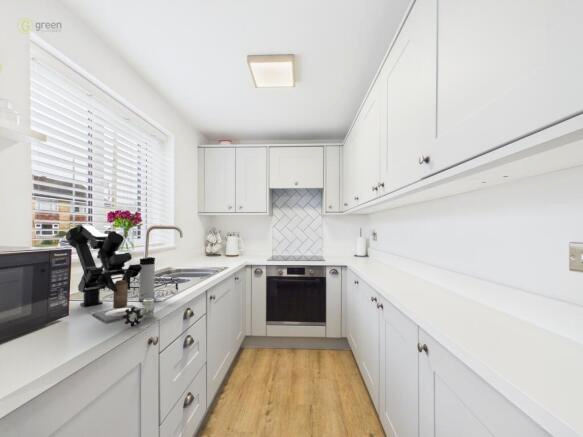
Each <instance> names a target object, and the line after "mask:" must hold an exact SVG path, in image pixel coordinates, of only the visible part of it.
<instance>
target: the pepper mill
mask: <svg viewBox="0 0 583 437" xmlns="http://www.w3.org/2000/svg"><path fill="white" fill-rule="evenodd" d="M114 284H115V287H116V290H117V291H116V292H114V291H113V299H112V301H113V302H112V309H115V308H116V309H117V308H124V307H127V306H128V283H127V282H126V280H122V279H120V280H116V282H115V283H114Z"/></svg>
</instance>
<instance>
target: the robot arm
mask: <svg viewBox="0 0 583 437" xmlns="http://www.w3.org/2000/svg"><path fill="white" fill-rule="evenodd" d="M124 240H125V237H124V236H123V235H122V234H120V233H117V232H116V230H110V231H109V232H108V234H107V233H102V232H100V231H99V230H98V229H96V228H95V227H93V224H89V223H80V224H78V225H77V226H75V227H72V228H71V229H69V230H68V231H67V233H66V234H65V241H67V242H68V245H69V246H71V247H72V248H74V249H75V252H76V254H77V256H78V259H79V260H78V261H79V263H80V266H81V268H82V271H83V274H82V276H81V279H80V282H79V284H78V285H77V288H78V292H81V293H83V300H82V301H83V302H80V305H81V306H83V307H85V308H86V307H91V306H95V305H101V304H103V303H104V302H103V301H101V299H100V297H101V296H100V293H101V290H105V289H106V288H108V289H109V290H111V291H112V292H113V293H114V292H116V291H117V290H116V287H115V283H114V280H113V277H116V276H122V278H121V280H126V282H127V283H128V290H130V289H131V278H136V277H137V276H138V277H139V272H140V271H141V269H142V267H141V265H140V263H135V264H129V265H128V268H124V267H125V266H126V265H125V264H126V263H127V262H130V261H131V260H132V254H131V253H130V252H124V253H116V252H117V251H119V249H120V248H121V246H122V244H123V242H124ZM88 243H89V244H88ZM89 246H90V247H91V248H92V249H93V250H97V255H96V259H99V261H100V263H101V266H98V267H97V264H96V262H95V259H94V257H93V255H92V252H91V249H90V247H89Z"/></svg>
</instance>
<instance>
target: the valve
mask: <svg viewBox="0 0 583 437" xmlns="http://www.w3.org/2000/svg"><path fill="white" fill-rule="evenodd" d="M139 308H140V309H138V310H137V311H136V310H134V309H135V307H132V308H131V311H129V309H127V310H125V312H126V313H127V315H124V316H123V318H124V319H125V318H126V319H125V322H124V324H125V325H128V324H129V326H130V327H134V326H136V325H139V324H141V322H142V321H141V319H151V318H153V317H155V315H154V314H155V298H154V299H144V300H143V302H142V307H139ZM133 312H134V313H133ZM129 314H132V315H130V318H129ZM124 319H123V320H124ZM130 319H131V320H130Z"/></svg>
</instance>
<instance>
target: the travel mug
mask: <svg viewBox="0 0 583 437" xmlns="http://www.w3.org/2000/svg"><path fill="white" fill-rule="evenodd" d="M155 259H156V257H152V256H149V257H147V258H146V257H145V258H139V264H140V265H141V267H142V269H141V271H140V272H139V274H138V279H139V280H138V301H139V302H141V301H143V300H144V299H154V300H155V276H156V275H155V270H156V268H155V267H156V265H155V261H156V260H155Z"/></svg>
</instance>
